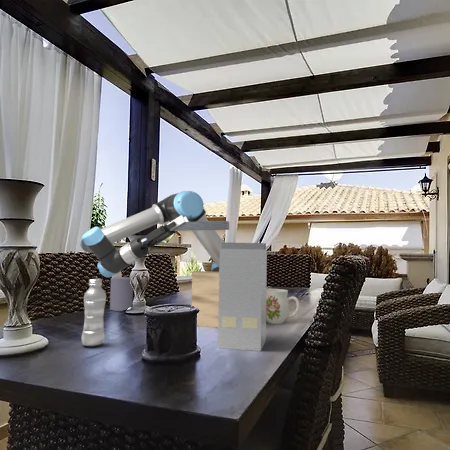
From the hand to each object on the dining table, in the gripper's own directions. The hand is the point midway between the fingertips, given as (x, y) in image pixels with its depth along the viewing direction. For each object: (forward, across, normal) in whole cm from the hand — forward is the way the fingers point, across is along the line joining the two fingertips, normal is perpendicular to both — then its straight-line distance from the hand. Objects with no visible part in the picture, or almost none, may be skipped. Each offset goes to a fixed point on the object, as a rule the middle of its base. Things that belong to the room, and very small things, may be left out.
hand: (185, 218), depth 141 cm
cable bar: (+2, 0, -6) cm, 6 cm away
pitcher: (+7, -24, -52) cm, 58 cm away
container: (-57, -33, -13) cm, 68 cm away
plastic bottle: (-38, +29, -25) cm, 54 cm away
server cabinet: (0, +14, -48) cm, 50 cm away
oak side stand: (-13, -13, -40) cm, 44 cm away
